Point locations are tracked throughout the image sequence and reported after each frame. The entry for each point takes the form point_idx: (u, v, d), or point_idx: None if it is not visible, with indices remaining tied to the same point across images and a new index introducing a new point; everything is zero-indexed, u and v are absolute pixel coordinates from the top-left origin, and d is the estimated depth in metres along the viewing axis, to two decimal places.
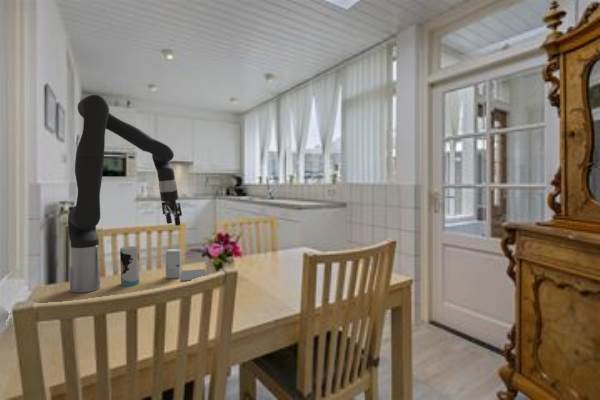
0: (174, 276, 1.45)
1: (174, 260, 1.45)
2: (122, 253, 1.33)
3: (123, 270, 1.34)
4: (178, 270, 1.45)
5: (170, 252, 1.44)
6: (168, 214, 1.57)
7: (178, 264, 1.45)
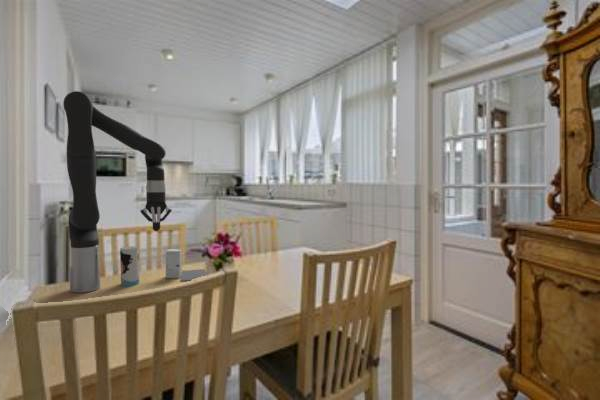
0: (174, 276, 1.45)
1: (174, 259, 1.45)
2: (122, 253, 1.33)
3: (123, 270, 1.34)
4: (178, 270, 1.45)
5: (170, 252, 1.44)
6: (155, 220, 1.43)
7: (178, 264, 1.45)
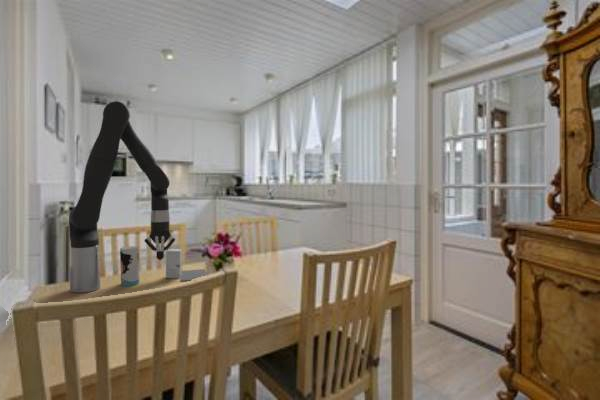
0: (174, 276, 1.45)
1: (175, 259, 1.45)
2: (122, 253, 1.33)
3: (123, 270, 1.34)
4: (178, 270, 1.45)
5: (171, 252, 1.44)
6: (159, 248, 1.45)
7: (178, 264, 1.45)
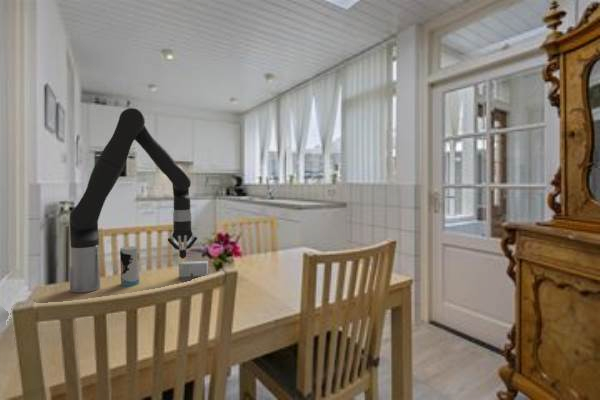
0: (181, 272, 1.45)
1: (197, 271, 1.46)
2: (122, 253, 1.33)
3: (123, 270, 1.34)
4: (187, 275, 1.46)
5: (205, 267, 1.47)
6: (181, 247, 1.48)
7: (193, 275, 1.46)
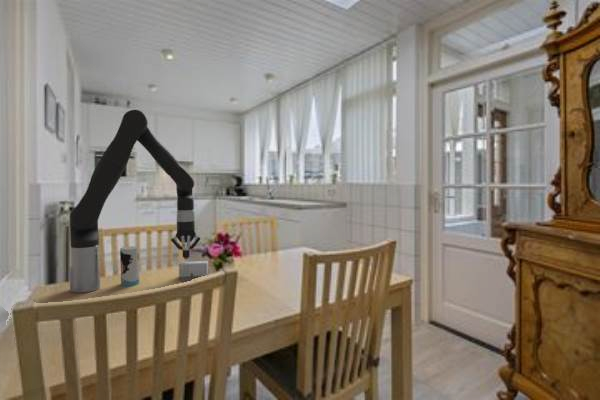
0: (181, 272, 1.45)
1: (197, 271, 1.46)
2: (122, 253, 1.33)
3: (123, 270, 1.34)
4: (187, 275, 1.46)
5: (205, 267, 1.47)
6: (185, 248, 1.48)
7: (193, 275, 1.46)
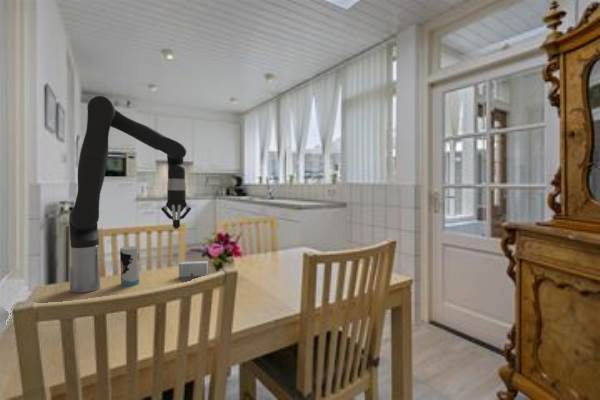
0: (181, 272, 1.45)
1: (197, 271, 1.46)
2: (122, 253, 1.33)
3: (123, 270, 1.34)
4: (187, 275, 1.46)
5: (205, 267, 1.47)
6: (175, 217, 1.46)
7: (193, 275, 1.46)
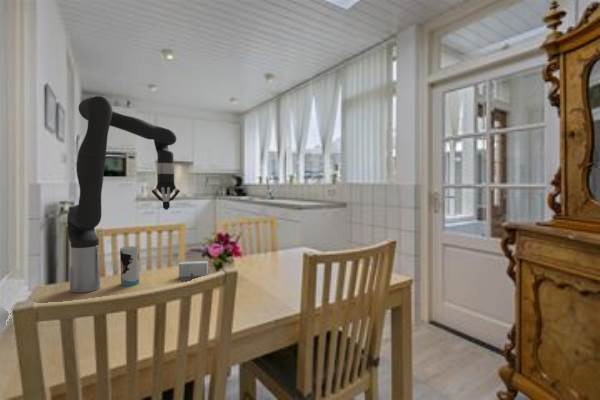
0: (181, 272, 1.45)
1: (197, 271, 1.46)
2: (122, 253, 1.33)
3: (123, 270, 1.34)
4: (187, 275, 1.46)
5: (205, 267, 1.47)
6: (165, 199, 1.57)
7: (193, 275, 1.46)
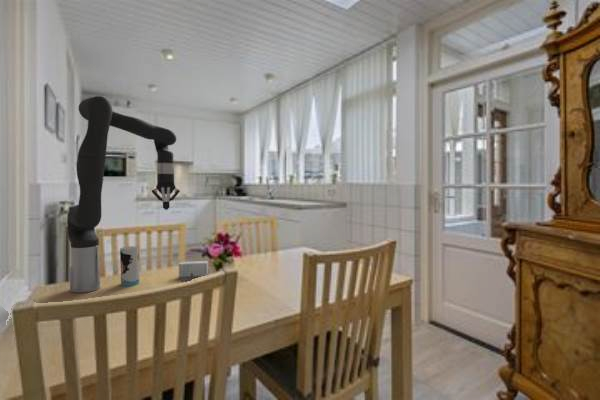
0: (181, 272, 1.45)
1: (197, 271, 1.46)
2: (122, 253, 1.33)
3: (123, 270, 1.34)
4: (187, 275, 1.46)
5: (205, 267, 1.47)
6: (165, 199, 1.57)
7: (193, 275, 1.46)
